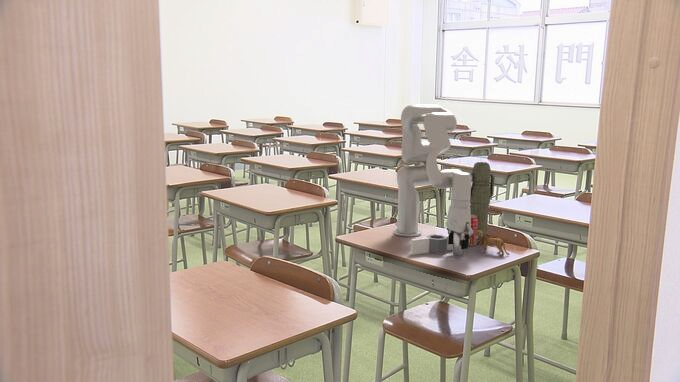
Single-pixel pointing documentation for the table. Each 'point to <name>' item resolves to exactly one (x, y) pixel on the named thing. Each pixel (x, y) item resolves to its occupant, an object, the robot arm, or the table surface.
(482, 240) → the lion figurine
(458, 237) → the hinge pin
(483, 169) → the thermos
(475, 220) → the soda can
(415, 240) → the hinge
